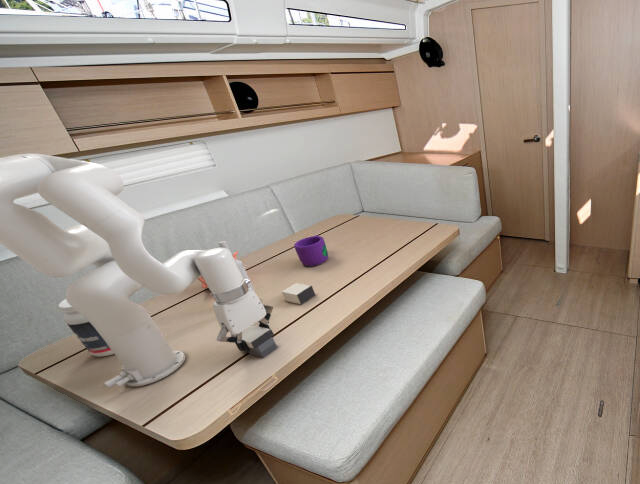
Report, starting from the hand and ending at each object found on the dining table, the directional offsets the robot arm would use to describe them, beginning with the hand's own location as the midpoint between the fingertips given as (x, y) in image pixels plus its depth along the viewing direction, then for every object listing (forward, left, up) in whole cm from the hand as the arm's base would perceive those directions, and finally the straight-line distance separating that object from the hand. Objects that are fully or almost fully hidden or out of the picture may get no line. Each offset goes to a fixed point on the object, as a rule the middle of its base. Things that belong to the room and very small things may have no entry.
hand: (256, 342), depth 103 cm
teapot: (+24, +53, -3) cm, 58 cm away
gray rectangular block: (0, 0, -3) cm, 3 cm away
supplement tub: (-12, +48, -3) cm, 50 cm away
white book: (0, 0, +1) cm, 1 cm away
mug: (+50, +32, -3) cm, 59 cm away
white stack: (+24, +12, -3) cm, 27 cm away
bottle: (+16, +27, -3) cm, 32 cm away
